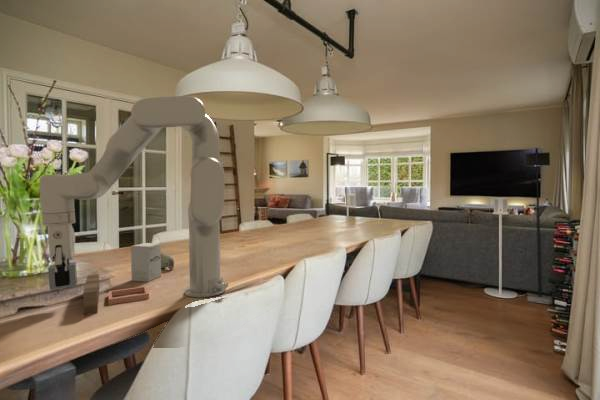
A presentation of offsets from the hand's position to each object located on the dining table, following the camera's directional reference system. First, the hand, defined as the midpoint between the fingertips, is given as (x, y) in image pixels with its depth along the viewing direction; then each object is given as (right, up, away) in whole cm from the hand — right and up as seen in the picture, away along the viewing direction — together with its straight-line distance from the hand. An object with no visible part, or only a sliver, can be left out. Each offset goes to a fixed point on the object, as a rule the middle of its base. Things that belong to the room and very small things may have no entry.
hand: (63, 282), depth 95 cm
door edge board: (+6, -7, +4) cm, 10 cm away
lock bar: (0, -1, 0) cm, 1 cm away
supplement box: (+10, -6, +29) cm, 31 cm away
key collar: (+14, -6, +8) cm, 18 cm away
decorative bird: (+9, -5, +45) cm, 46 cm away
